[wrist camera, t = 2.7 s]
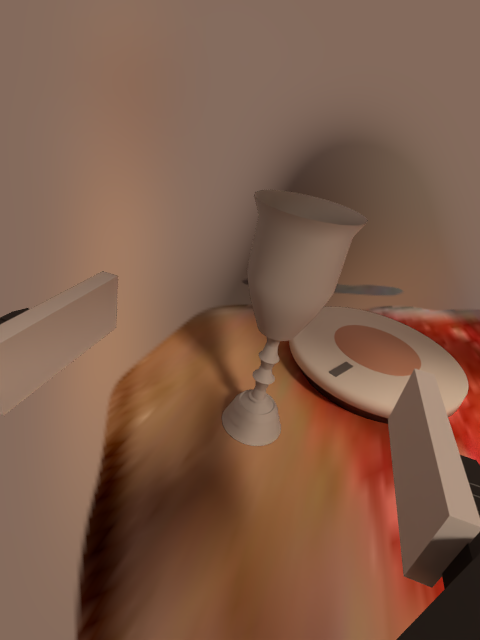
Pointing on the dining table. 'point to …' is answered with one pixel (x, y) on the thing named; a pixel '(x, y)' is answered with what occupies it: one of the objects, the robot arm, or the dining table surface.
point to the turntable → (373, 359)
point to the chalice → (287, 290)
